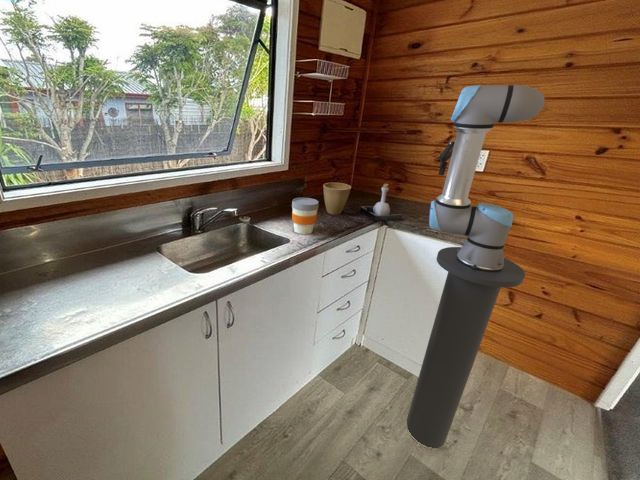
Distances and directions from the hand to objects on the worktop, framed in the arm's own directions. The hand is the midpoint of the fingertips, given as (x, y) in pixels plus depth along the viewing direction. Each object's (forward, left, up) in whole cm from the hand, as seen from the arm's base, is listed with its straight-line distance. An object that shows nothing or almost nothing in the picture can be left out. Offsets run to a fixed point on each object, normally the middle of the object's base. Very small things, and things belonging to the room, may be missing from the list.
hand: (452, 176), depth 153 cm
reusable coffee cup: (-40, +66, -25) cm, 81 cm away
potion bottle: (-1, +30, -25) cm, 39 cm away
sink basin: (-1, +30, -25) cm, 39 cm away
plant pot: (-7, +55, -25) cm, 61 cm away
